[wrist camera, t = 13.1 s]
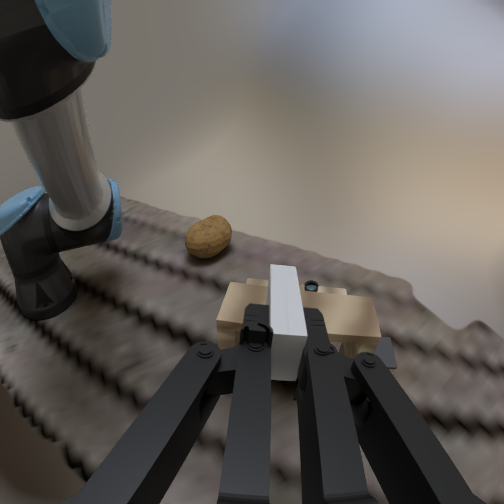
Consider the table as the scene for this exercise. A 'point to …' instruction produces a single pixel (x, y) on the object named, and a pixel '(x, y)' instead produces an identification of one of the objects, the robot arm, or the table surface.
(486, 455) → the table surface
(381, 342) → the mat
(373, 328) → the tunnel
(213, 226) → the potato
